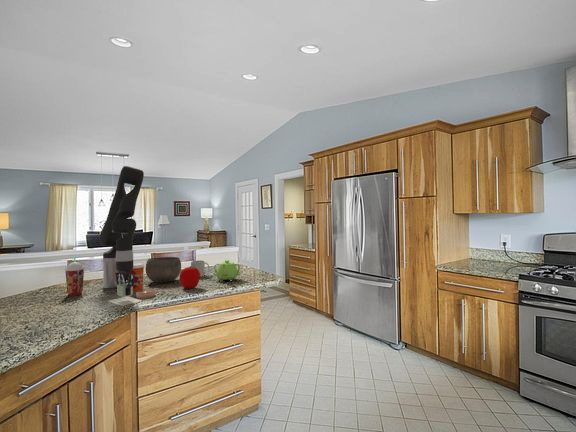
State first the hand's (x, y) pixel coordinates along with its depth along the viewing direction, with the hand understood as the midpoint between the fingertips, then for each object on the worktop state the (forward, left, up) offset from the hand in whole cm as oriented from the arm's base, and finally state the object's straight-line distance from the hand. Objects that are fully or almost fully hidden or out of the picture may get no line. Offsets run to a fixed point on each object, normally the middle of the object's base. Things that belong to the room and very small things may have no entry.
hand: (125, 294), depth 151 cm
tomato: (+4, +35, -4) cm, 35 cm away
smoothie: (-36, -8, -4) cm, 37 cm away
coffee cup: (-15, +14, -4) cm, 21 cm away
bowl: (-25, +37, -4) cm, 45 cm away
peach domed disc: (0, +10, -3) cm, 11 cm away
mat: (+1, +5, -4) cm, 6 cm away
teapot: (+5, +62, -4) cm, 62 cm away
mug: (-21, +61, -4) cm, 65 cm away
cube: (0, 0, 0) cm, 0 cm away
